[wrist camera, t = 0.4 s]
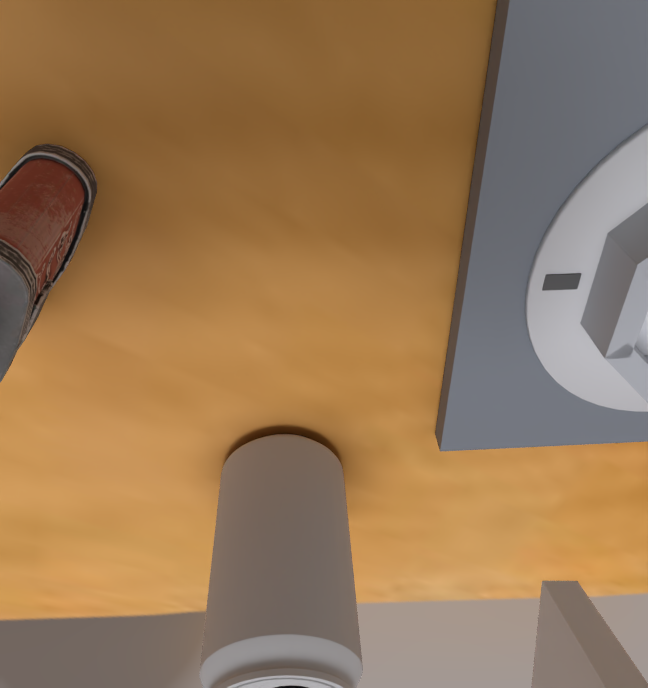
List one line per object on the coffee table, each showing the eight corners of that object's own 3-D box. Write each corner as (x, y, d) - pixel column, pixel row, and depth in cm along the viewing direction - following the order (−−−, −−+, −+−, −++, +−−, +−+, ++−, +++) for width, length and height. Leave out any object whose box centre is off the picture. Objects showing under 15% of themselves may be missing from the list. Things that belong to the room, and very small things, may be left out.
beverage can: (363, 445, 31) (398, 690, 22) (309, 516, 35) (319, 755, 25) (250, 409, 29) (234, 660, 20) (204, 487, 33) (171, 735, 23)
